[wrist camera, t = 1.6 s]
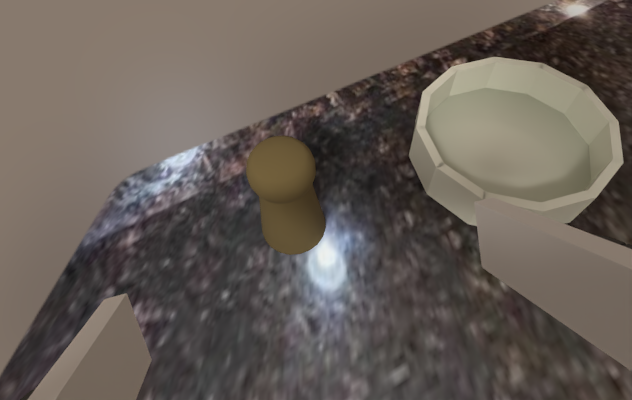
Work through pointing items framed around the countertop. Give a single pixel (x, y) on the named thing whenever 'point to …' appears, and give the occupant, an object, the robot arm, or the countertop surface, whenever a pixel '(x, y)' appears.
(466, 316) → the countertop surface
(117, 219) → the countertop surface
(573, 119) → the bowl
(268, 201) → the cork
